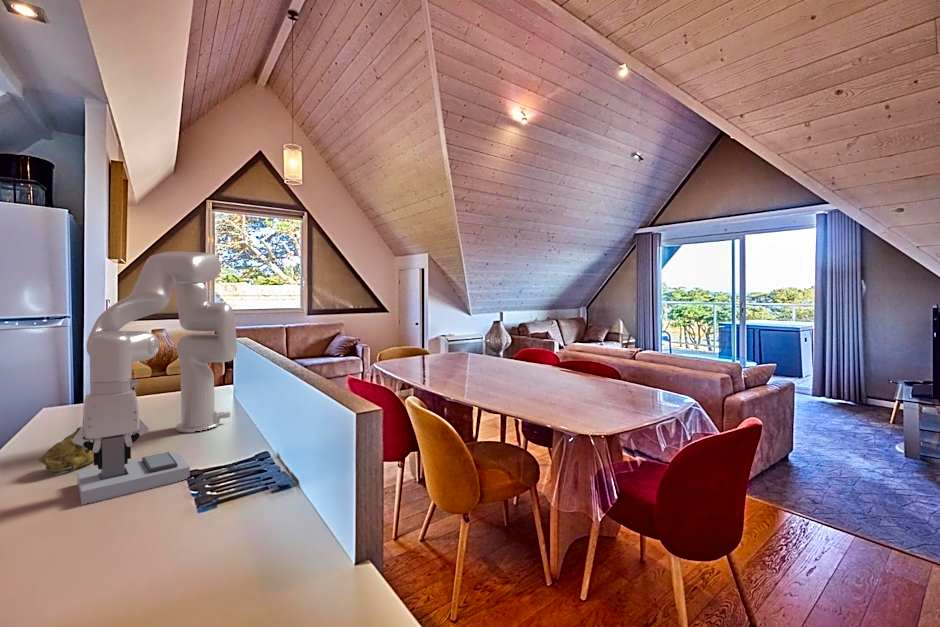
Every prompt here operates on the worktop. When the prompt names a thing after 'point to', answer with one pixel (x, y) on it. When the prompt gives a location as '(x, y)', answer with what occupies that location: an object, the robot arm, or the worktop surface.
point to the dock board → (132, 477)
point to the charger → (112, 456)
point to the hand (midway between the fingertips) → (112, 464)
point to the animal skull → (67, 454)
